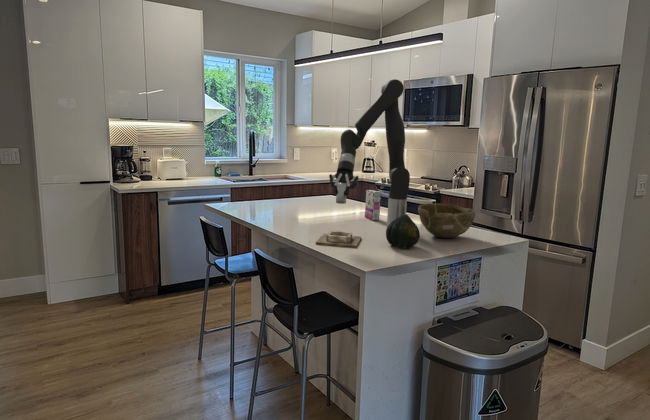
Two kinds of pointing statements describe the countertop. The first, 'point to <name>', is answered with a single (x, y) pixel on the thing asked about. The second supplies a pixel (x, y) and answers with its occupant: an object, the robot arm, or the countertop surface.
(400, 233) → the squash
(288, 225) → the countertop surface
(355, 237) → the socket board
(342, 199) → the steel cylinder
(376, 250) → the countertop surface
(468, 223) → the bowl
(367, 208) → the candy bar box
